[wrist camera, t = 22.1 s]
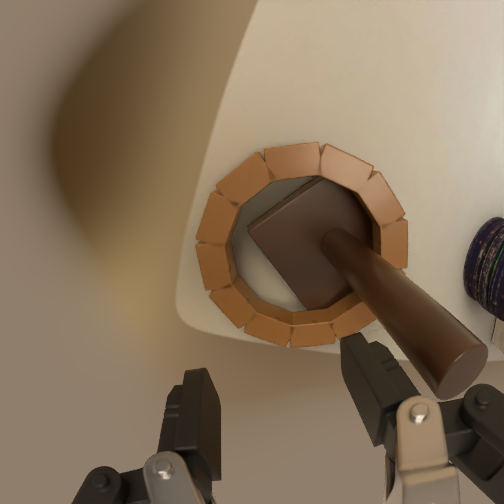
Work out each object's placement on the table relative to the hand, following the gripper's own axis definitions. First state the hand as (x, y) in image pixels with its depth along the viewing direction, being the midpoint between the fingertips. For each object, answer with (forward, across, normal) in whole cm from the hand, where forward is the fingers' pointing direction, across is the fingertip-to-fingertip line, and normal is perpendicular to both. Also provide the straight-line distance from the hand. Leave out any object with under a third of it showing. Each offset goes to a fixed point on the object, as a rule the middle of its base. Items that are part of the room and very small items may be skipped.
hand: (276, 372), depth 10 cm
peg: (+12, -6, 0) cm, 14 cm away
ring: (+11, -4, 0) cm, 12 cm away
